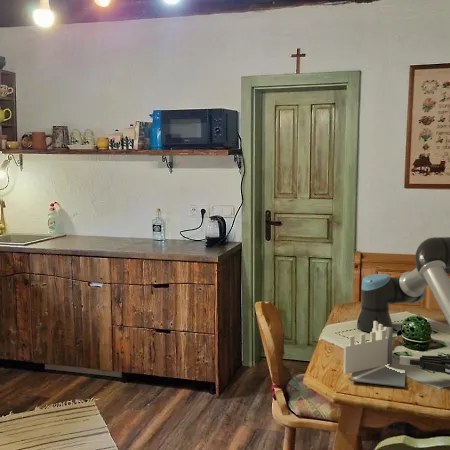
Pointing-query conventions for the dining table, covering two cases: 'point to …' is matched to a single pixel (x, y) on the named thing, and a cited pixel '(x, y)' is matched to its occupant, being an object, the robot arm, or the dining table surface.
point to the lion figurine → (397, 342)
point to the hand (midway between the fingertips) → (399, 359)
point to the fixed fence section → (389, 335)
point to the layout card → (379, 376)
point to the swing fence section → (365, 352)
